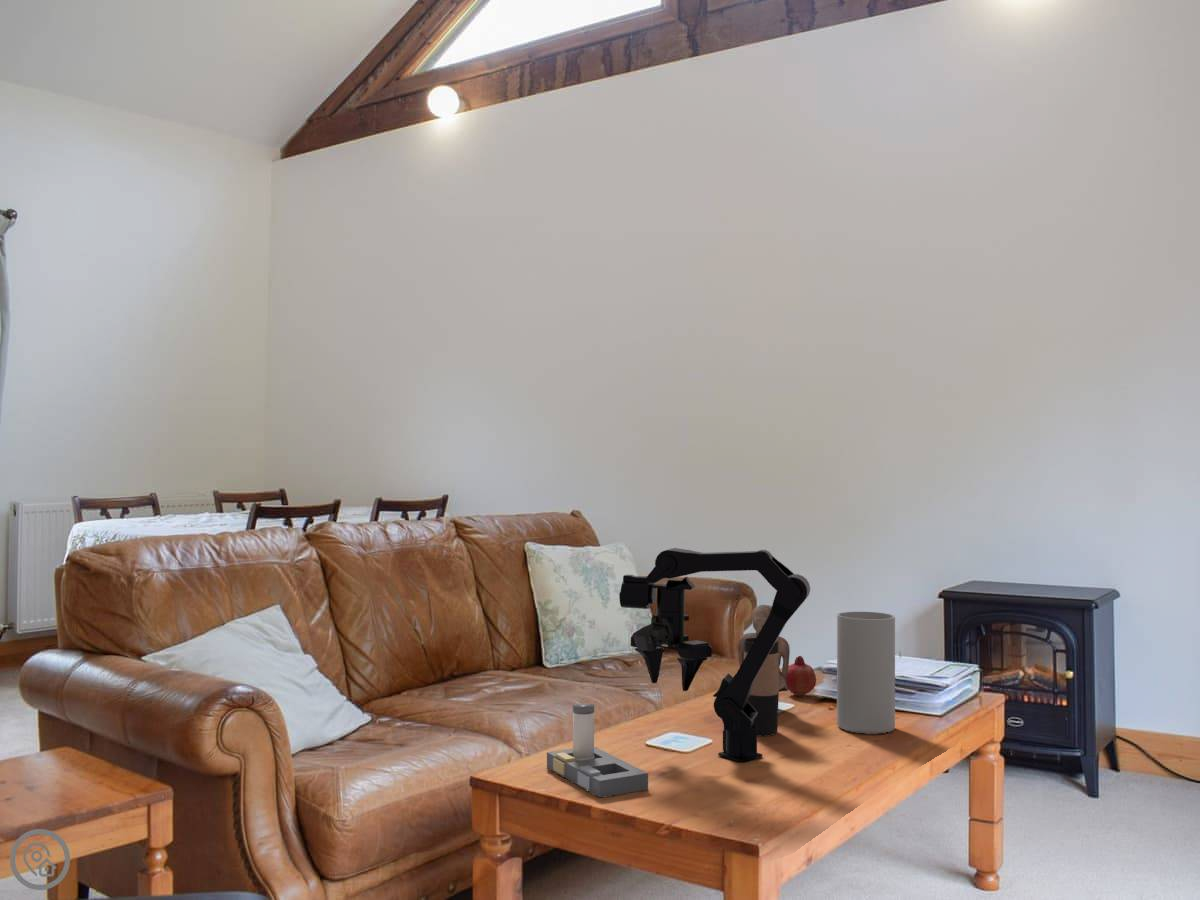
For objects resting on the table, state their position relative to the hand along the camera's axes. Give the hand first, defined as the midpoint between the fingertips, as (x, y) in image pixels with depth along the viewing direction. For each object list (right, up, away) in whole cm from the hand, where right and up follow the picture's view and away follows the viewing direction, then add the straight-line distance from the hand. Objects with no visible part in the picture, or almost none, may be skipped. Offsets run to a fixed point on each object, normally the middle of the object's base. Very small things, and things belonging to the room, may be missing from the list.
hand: (669, 686), depth 218 cm
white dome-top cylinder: (-17, -13, -15) cm, 26 cm away
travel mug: (+21, -14, +16) cm, 29 cm away
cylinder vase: (+45, -14, +19) cm, 51 cm away
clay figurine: (+25, -14, +37) cm, 46 cm away
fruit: (+36, -14, +52) cm, 65 cm away
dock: (-15, -13, -19) cm, 28 cm away
